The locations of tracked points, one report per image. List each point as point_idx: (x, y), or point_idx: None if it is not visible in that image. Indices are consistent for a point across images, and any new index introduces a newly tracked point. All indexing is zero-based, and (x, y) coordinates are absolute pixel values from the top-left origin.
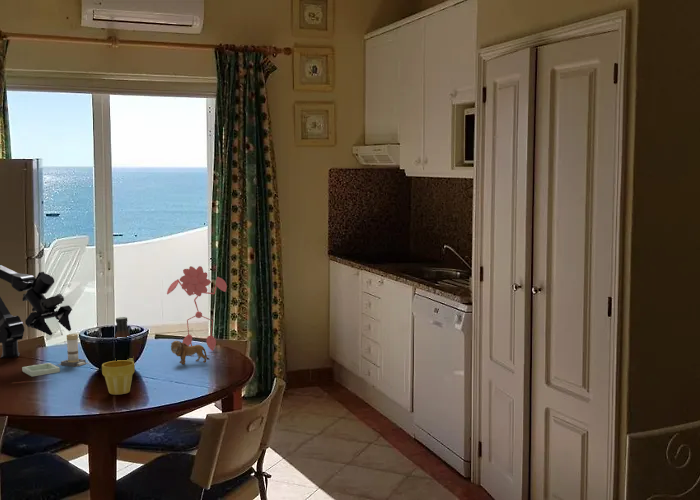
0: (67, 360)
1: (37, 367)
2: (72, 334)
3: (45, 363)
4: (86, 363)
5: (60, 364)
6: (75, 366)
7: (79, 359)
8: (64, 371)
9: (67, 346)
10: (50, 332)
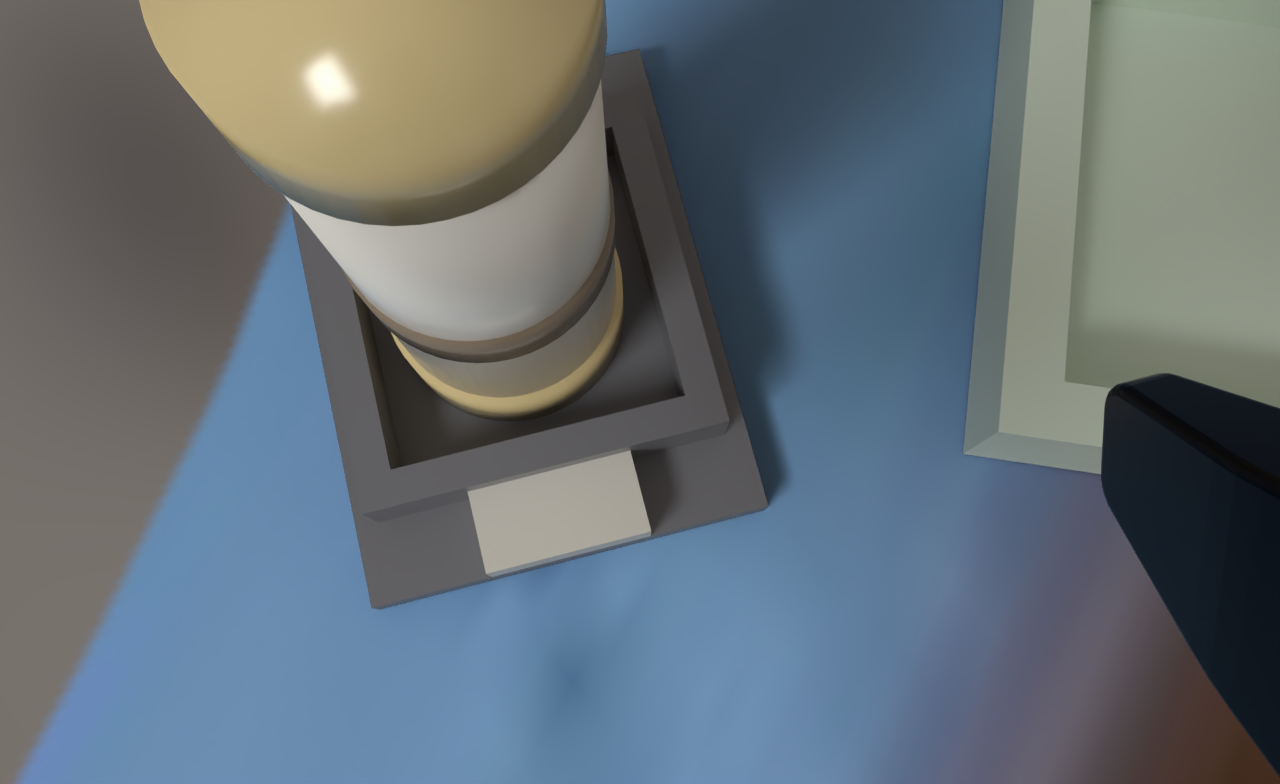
0: (565, 428)
1: None
2: (295, 26)
3: (1098, 441)
4: None
5: (728, 453)
6: (613, 79)
7: (353, 295)
8: (878, 33)
9: (600, 185)
10: (1244, 405)
